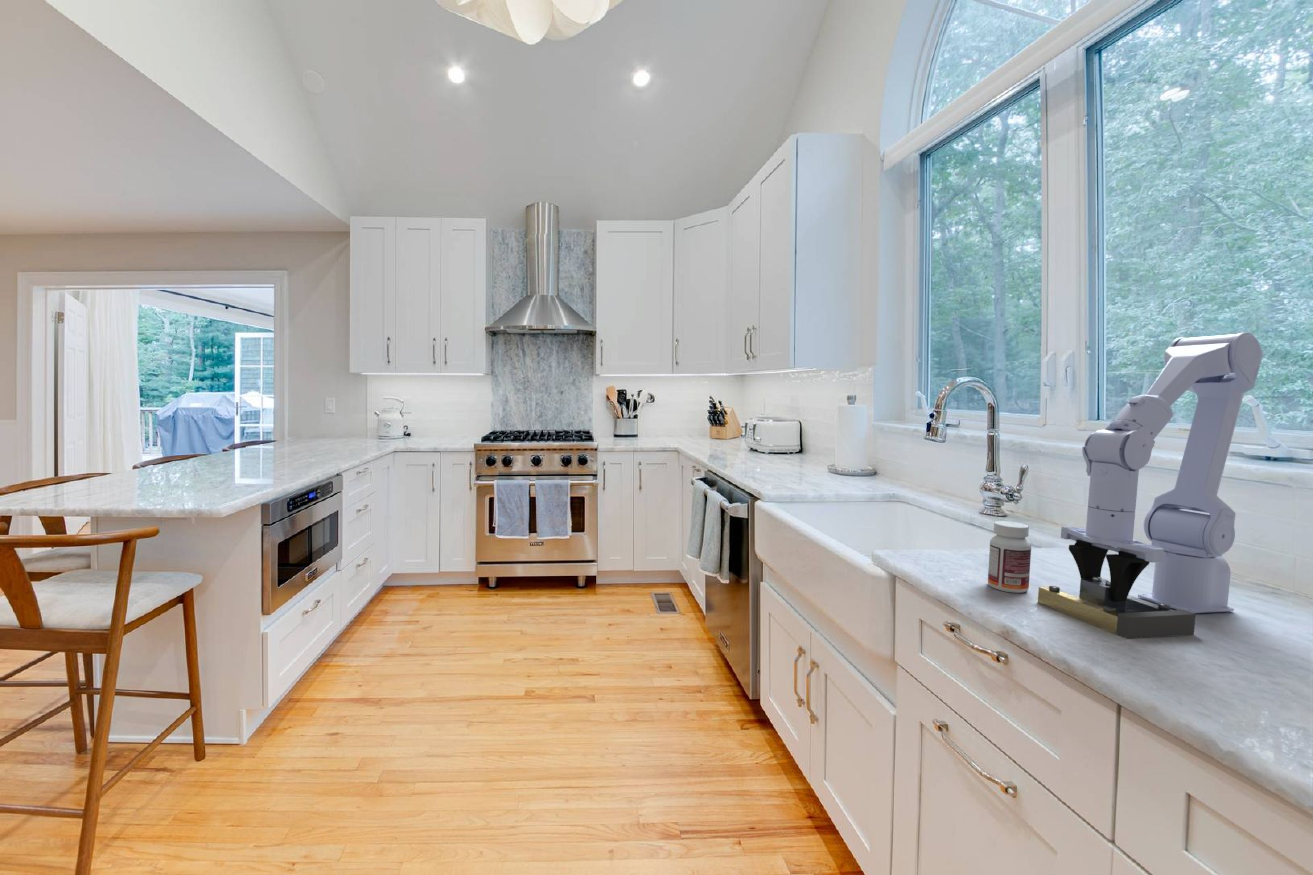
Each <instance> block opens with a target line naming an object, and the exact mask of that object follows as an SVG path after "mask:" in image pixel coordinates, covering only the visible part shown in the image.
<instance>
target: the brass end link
mask: <svg viewBox="0 0 1313 875" xmlns="http://www.w3.org/2000/svg"><path fill="white" fill-rule="evenodd" d="M1037 591H1038V592H1037V595H1038V597H1037V602H1038V604H1041V605H1044V606H1047V607H1049V608H1051V609H1053V610H1056V611H1059V612H1061V613H1063V614H1066V615H1068V616H1071V617H1074V618H1075V619H1079V620H1080V621H1083V622H1085V623H1087V624H1090V625H1092V626H1095V627H1098V628H1099V629H1102V630H1104V631H1108V632H1110V633H1112V634H1115V635H1117V634H1116V631H1117V619H1118V612H1115V610H1116V608H1114V607H1111V606H1103V607H1102V606H1099V605H1096V604H1094V603H1091V602H1088V601H1085V600H1083V599H1080V598H1079V597H1078V596H1074V595H1072V594H1069V593H1067V592H1063V591H1061V588H1060V586H1056V585H1049V586H1039V587H1038V590H1037Z"/></svg>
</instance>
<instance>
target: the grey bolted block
mask: <svg viewBox="0 0 1313 875" xmlns="http://www.w3.org/2000/svg"><path fill="white" fill-rule="evenodd" d="M1079 585H1080V586H1079V596H1078V598H1080V599H1083V600H1085V601H1088V602H1091V603H1094V604H1096V605H1099V606H1102V607H1103V606H1111V607H1114V608H1116V610H1115V612H1118V613H1125V604H1126V601H1122V602H1115V601H1112V600H1111V595H1110V580H1108V579H1105V578H1102V577H1101V576H1100V577H1098V576H1092V579H1081V578H1080V584H1079Z"/></svg>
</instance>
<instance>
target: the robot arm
mask: <svg viewBox="0 0 1313 875" xmlns="http://www.w3.org/2000/svg"><path fill="white" fill-rule="evenodd" d="M1260 344H1261V343H1260V342H1259V340H1258V339H1257V338H1256V336H1255V335H1254V334H1252V333H1250V332H1248V331H1247V332H1239V333H1236V334H1235V333H1234V334H1222V335H1221V334H1220V335H1210V336H1209V335H1208V336H1198V337H1197V336H1196V337H1177V338H1175V339H1174V340H1172V341H1171V343H1170V344H1169V346H1168V347H1167V349H1165V351H1164V358H1163V359H1164V367H1163V368H1162V370H1161V371H1160V373H1159V374H1158V375H1157V376H1156V378H1155V381H1154V382H1153V383H1152V384H1151V386H1150V388H1148V391H1146V393H1145V394H1140V395H1137V396H1134V397H1131V398H1130V399H1129V401H1127V403H1126V404H1125V405H1124V406H1123V408H1122V409H1121V410H1120V411H1119V412H1118V413H1117V414H1116V415H1115V417H1114V418H1113V419H1112V420H1111V422H1110V423H1109V424H1107V426H1106V427H1105V428H1104V429H1098V430H1096V431H1095V432H1092V433H1090V435H1088V437H1087V438H1086V439H1085V442H1084V445H1083V446H1082V457H1083V460H1084V461H1085V463H1086V471H1085V472H1086V473H1087V476H1088V477H1089V488H1088V499H1087V512H1086V523H1085V524H1086V525H1085V526H1086V527H1085V528H1080V527H1074V526H1061V529H1060V539H1064V540H1070V541H1075V543H1074V544H1069V545H1068V550H1069V552H1070V554H1071V555H1072V557H1073V560H1074V561H1075V565H1076V566H1077V569H1078V572H1079V576H1080V580H1081V579H1092V576H1098V577H1101V576H1102V575H1101V574H1102V569H1103V565H1104V562H1105V559H1106V561H1107V565H1108V569H1109V576H1110V577H1109V578H1110V580H1109V581H1110V595H1111V600H1112V601H1115V602H1122V601H1126V599H1127V597H1128V595H1130V592H1131V590H1132V588H1133V585H1134V583H1135V582H1136V580H1137V579H1138V577H1139V576H1140V574H1141V573H1142V572H1143V571H1144V570H1145V569H1146V568H1147V567H1148V566H1149V565H1150V563H1154V569H1153V570H1154V571H1153V578H1152V579H1153V580H1152V581H1153V582H1152V592H1151V593H1138V594H1137V598H1139V599H1142V600H1145V601H1148V602H1151V603H1154V604H1158V603H1164V604H1168V605H1170V609H1172V610H1185V611H1188V612H1191V613H1194V614H1205V613H1222V612H1223V613H1224V612H1234V610H1235V608H1234V607H1230V606H1228V605H1229V604H1228V603H1229V594H1230V593H1229V592H1230V583H1231V582H1230V581H1231V575H1232V574H1231V567H1230V565H1229V563H1228V562H1227V561H1226V559H1225V558H1224V557H1222V556H1223V555H1224V554H1227V552H1228V551H1230V549H1231V548H1232V546H1233V545H1234V542H1235V540H1236V539H1235V537H1236V530H1235V520H1236V512H1235V511H1234V510H1233V509H1232V507H1230V505H1229V504H1227V503H1226V502H1225V501H1224V500H1222V499H1221V498H1220V497H1219V496H1218V492H1219V489H1220V486H1221V481H1222V477H1223V473H1224V469H1225V467H1226V462H1227V458H1228V454H1229V450H1230V447H1231V443H1232V439H1233V435H1234V432H1235V428H1236V424H1237V420H1238V416H1239V413H1240V408H1241V405H1242V402H1243V397H1244V394H1245V393H1246V392H1249V391H1251V390H1253V389H1255V384H1256V381H1257V378H1258V375H1259V371H1260V367H1261V364H1262V360H1263V351H1262V348H1261V345H1260ZM1187 391H1188V392H1192V393H1194V394H1195V396H1197V403H1196V405H1195V406H1196V407H1195V410H1194V414H1193V418H1192V421H1191V424H1190V430H1189V431H1188V432H1189V434H1188V437H1187V441H1186V444H1185V447H1184V451H1183V455H1182V459H1181V464H1180V468H1179V471H1178V475H1177V477H1176V482H1175V484H1174V488H1172V489H1171V490H1168V491H1166V492H1164V493H1162V494H1160V495H1158V496H1156V497H1154V501H1153V504H1152V506H1151V508H1150V510H1149V511H1148V513H1147V514H1146V516H1145V517H1144V520H1143V531H1144V534H1145V536H1146V539H1147V540H1149V542H1151V545H1150V544H1147V543H1146V542H1142V541H1139V540H1137V539H1134V532H1135V518H1136V508H1137V495H1138V494H1137V493H1138V487H1139V486H1138V485H1139V472H1140V470H1141V469H1143V468H1144V467H1145V466H1146V465H1148V463H1149V462H1150V460H1151V456H1152V453H1153V452H1152V451H1153V449H1154V446H1155V443H1156V441H1155V438H1157V436H1159V434H1160V433H1161V432H1162V430H1163V429H1164V428H1165V427H1166V426H1167V424H1169V422H1170V421H1171V420H1172V418H1173V416H1174V415H1173V414H1174V413H1173V408H1172V407H1171V406H1173V404H1174V403H1176V401H1178V399H1179V398H1181V397H1182V396H1183V395H1184V394H1185V393H1186V392H1187ZM1187 510H1188V511H1187ZM1109 551H1111V552H1112V551H1113V552H1116V553H1115V554H1114V553H1111V554H1109V553H1108V552H1109Z"/></svg>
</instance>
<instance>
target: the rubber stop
mask: <svg viewBox="0 0 1313 875" xmlns="http://www.w3.org/2000/svg"><path fill="white" fill-rule="evenodd" d="M1173 610H1174V611H1155V612H1136V613H1118V619H1117V631H1116V634H1115V635H1117V636H1120V637H1122V638H1123V639H1127V640H1133V639H1146V638H1147V639H1148V638H1161V637H1163V638H1164V637H1179V636H1180V637H1181V636H1193V635H1195V627H1196V626H1195V625H1196V619H1197V618H1196V616H1197V613H1191V612H1188V611H1185V610H1176V609H1173Z"/></svg>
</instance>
